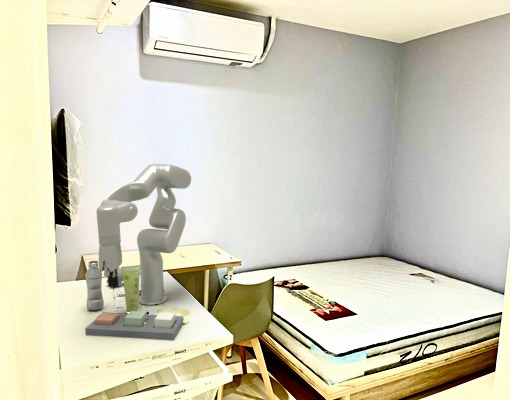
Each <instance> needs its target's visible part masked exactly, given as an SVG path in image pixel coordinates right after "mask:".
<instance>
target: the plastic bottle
mask: <svg viewBox="0 0 510 400" xmlns="http://www.w3.org/2000/svg"><path fill="white" fill-rule="evenodd" d="M87 263H88V264H87V265H88V266H87V267H88V268H87V269H86V272H85V274H84V278H85V283H86V287H87V294H86V295H87V297H86V298H87V299H86V308H87V309H88V310H89V311H99V310H101V309H102V308H103V307H104V304H105V303H104V302H105V301H104V297H103V291H102V285H103V284H102V283H103V282H102V280H103V273H102V272H103V271H102V272H100V271H99V260H90V261H88V262H87Z"/></svg>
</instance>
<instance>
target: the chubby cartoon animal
mask: <svg viewBox="0 0 510 400" xmlns="http://www.w3.org/2000/svg"><path fill="white" fill-rule="evenodd" d="M117 276H118V286H120V287H121V284H122V282H123V275H122V270H121V267H119V268H118V275H117ZM106 284H108V278H107V279H106Z"/></svg>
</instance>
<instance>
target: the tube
mask: <svg viewBox="0 0 510 400" xmlns="http://www.w3.org/2000/svg"><path fill="white" fill-rule="evenodd" d="M120 268H121V270H122V275H123V281H122V282H123V288H124V289H123V290H124V298H125V311H126V313H127V312H130V311H138V310H139V311H140V303H139V296H140V280H141V273H140V268H141V265H140V264H138V265H129V266H128V265H127V266H120Z"/></svg>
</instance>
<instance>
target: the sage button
mask: <svg viewBox="0 0 510 400" xmlns="http://www.w3.org/2000/svg"><path fill="white" fill-rule="evenodd" d="M147 313H148V312H147V311H144V310H143V311H141V310H139V311H130V313H129V314H128V315H127V316H126V317H125V326H133V327H142V326H143V325H144V323H145V322H146V321H147V315H148V314H147Z"/></svg>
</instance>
